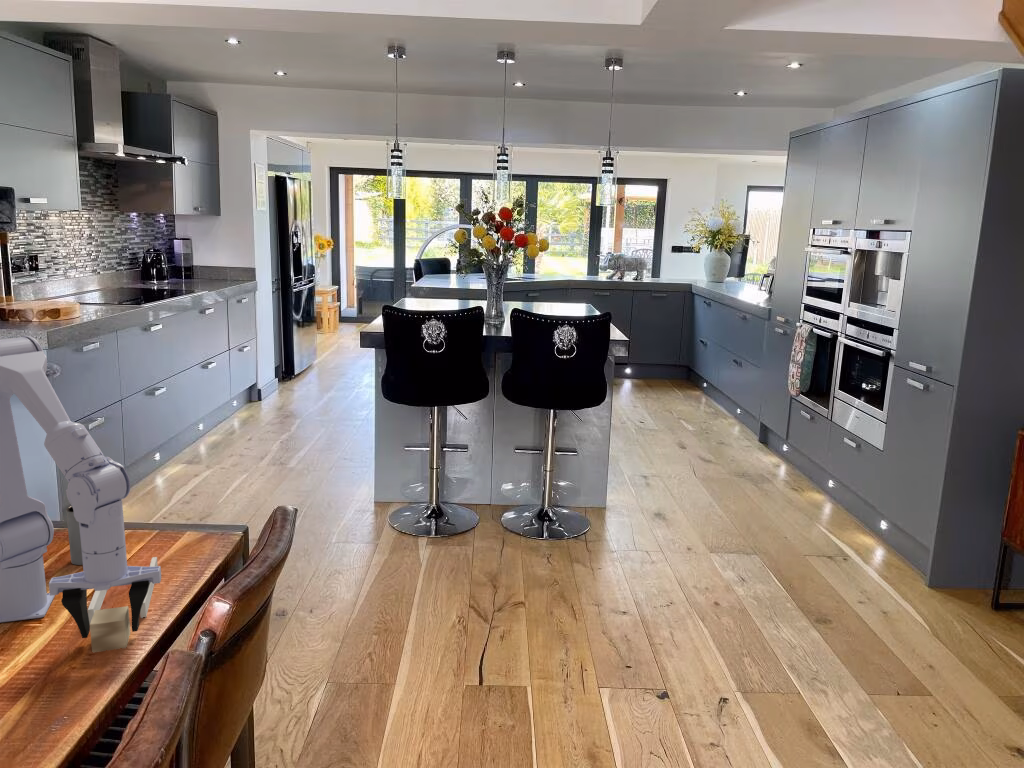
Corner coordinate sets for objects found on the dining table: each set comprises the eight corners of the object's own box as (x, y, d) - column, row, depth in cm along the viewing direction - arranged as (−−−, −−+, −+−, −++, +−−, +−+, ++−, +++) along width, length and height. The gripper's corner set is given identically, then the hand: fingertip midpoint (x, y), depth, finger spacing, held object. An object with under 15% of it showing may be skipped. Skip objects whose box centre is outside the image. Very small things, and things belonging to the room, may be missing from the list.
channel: (88, 624, 120) (87, 609, 119) (108, 575, 136) (106, 562, 136) (146, 617, 122) (145, 602, 122) (157, 569, 139) (157, 556, 138)
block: (92, 653, 112) (89, 624, 111) (97, 637, 116) (95, 610, 115) (126, 648, 113) (124, 620, 112) (130, 633, 118) (128, 606, 117)
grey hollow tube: (90, 565, 140) (85, 512, 138) (65, 565, 140) (60, 511, 138) (104, 555, 144) (99, 503, 142) (80, 554, 144) (75, 502, 142)
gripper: (40, 563, 106) (49, 652, 109) (155, 551, 111) (161, 637, 114) (52, 543, 113) (60, 628, 115) (160, 533, 117) (165, 615, 120)
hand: (111, 631), depth 115 cm, fingers open, 6 cm apart
